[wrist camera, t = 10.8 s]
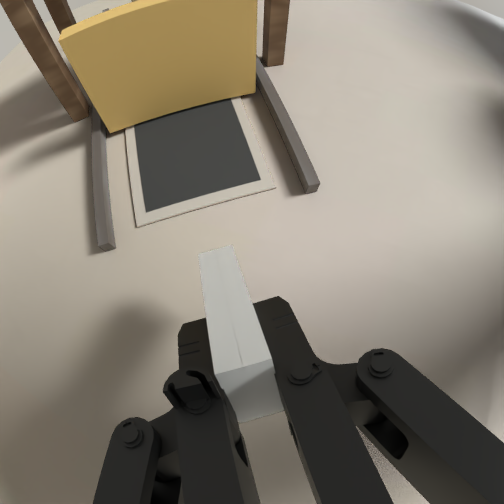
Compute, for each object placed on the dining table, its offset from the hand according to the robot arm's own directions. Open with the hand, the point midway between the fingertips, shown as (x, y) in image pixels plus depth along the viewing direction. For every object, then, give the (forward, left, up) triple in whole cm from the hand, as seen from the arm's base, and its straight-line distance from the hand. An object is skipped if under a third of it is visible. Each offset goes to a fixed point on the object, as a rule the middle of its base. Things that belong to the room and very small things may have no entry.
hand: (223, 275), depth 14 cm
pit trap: (0, -12, -5) cm, 13 cm away
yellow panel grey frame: (0, -23, -5) cm, 23 cm away
